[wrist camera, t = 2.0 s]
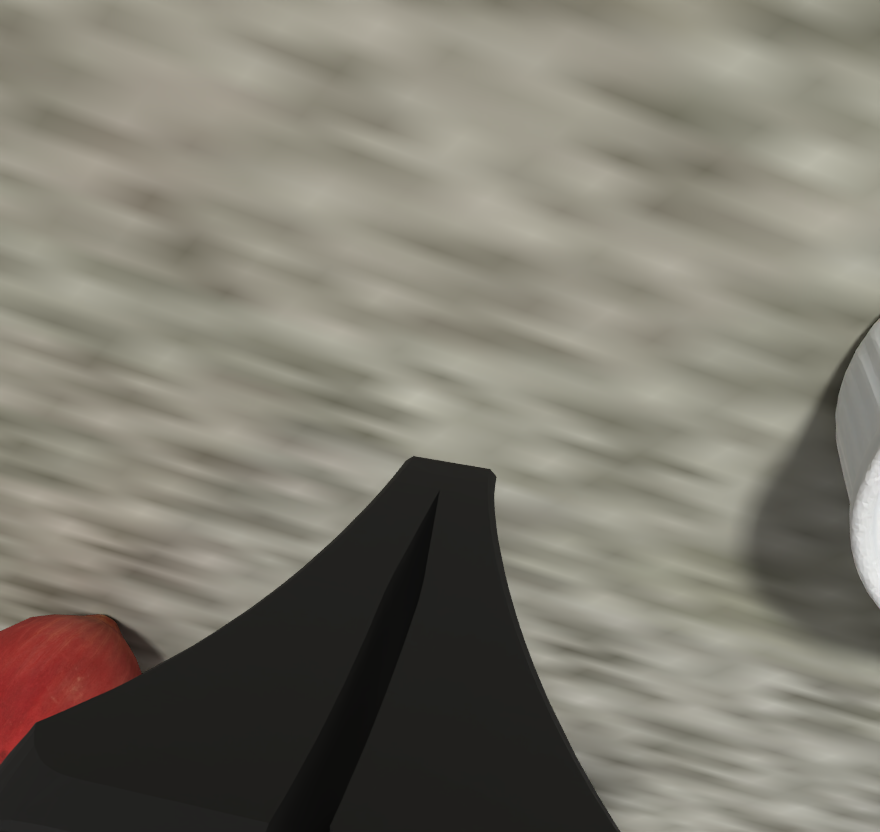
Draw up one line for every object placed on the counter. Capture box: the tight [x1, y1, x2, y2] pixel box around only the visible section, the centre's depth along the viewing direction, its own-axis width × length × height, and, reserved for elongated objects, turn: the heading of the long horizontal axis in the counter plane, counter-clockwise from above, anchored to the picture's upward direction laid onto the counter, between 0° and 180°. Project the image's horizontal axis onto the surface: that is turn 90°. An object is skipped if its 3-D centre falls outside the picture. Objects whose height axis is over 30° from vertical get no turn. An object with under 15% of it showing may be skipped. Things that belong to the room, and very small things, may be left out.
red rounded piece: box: [0, 614, 142, 764], centre depth 24 cm, size 6×6×8 cm
